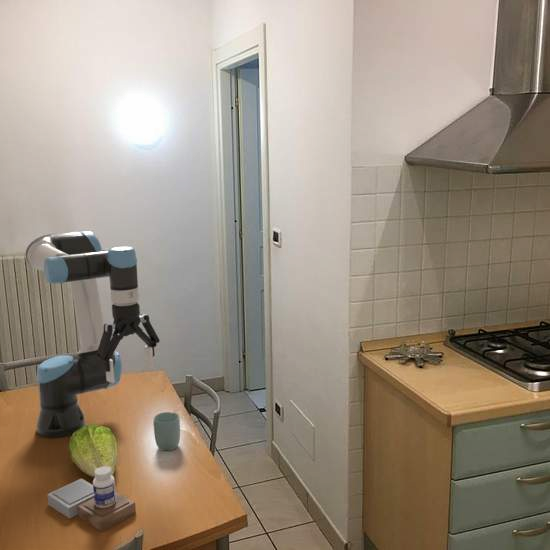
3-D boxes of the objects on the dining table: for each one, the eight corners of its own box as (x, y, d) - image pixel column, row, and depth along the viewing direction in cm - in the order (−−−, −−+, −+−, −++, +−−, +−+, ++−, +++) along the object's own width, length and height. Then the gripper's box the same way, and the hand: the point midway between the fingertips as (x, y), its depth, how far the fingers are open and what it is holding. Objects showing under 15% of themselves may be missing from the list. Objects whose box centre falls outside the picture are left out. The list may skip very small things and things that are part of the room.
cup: (175, 454, 189) (174, 423, 187) (151, 452, 190) (149, 421, 188) (184, 442, 196) (182, 412, 194) (161, 440, 198) (159, 411, 196)
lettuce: (74, 479, 166) (111, 445, 169) (58, 437, 187) (91, 407, 190) (103, 504, 172) (139, 470, 174) (84, 461, 193) (116, 431, 195)
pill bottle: (96, 497, 160) (94, 465, 159) (117, 496, 161) (115, 464, 159) (92, 509, 155) (89, 476, 153) (114, 507, 156) (111, 475, 154)
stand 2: (78, 516, 158) (77, 504, 157) (112, 499, 165) (111, 488, 165) (101, 531, 152) (100, 519, 151) (135, 513, 159) (134, 501, 158)
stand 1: (48, 504, 164) (47, 493, 163) (82, 488, 171) (81, 477, 170) (69, 518, 157) (68, 506, 157) (103, 501, 165) (102, 489, 164)
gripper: (94, 314, 164) (100, 391, 169) (168, 295, 183) (172, 365, 187) (78, 310, 169) (85, 384, 173) (152, 292, 187) (156, 360, 192)
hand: (130, 374), depth 180 cm, fingers open, 13 cm apart
